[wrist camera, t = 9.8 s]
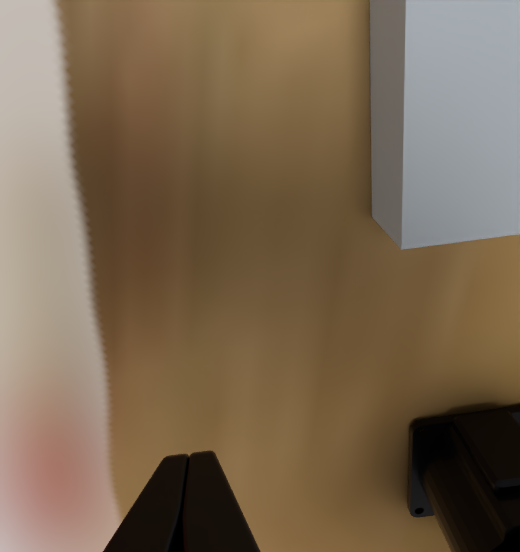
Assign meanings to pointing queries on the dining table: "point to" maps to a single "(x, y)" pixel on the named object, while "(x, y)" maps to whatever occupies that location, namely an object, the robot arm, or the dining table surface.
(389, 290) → the dining table surface
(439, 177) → the light grey slab
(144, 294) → the dining table surface
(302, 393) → the dining table surface
